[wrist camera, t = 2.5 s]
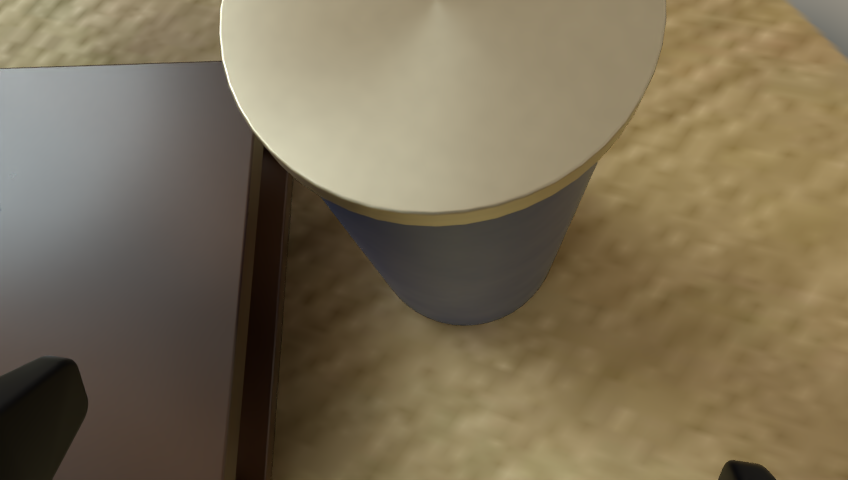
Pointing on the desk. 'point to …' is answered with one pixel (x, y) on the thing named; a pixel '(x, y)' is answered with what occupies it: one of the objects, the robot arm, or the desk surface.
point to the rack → (145, 264)
